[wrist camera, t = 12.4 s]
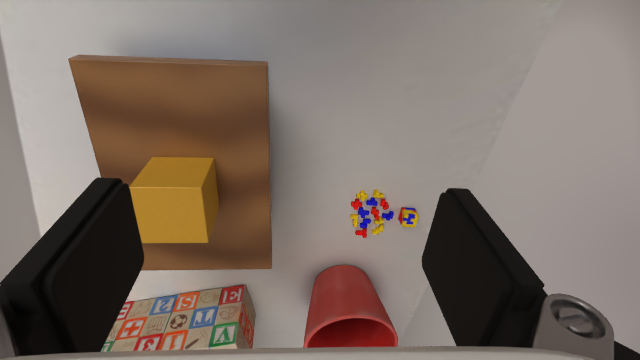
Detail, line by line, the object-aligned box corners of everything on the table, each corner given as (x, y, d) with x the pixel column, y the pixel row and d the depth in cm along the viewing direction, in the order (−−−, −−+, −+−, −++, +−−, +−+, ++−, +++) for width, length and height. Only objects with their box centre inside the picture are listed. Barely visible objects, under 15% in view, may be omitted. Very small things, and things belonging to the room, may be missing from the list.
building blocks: (354, 187, 42) (356, 195, 41) (419, 193, 43) (423, 201, 42) (344, 232, 46) (346, 240, 44) (405, 236, 46) (409, 244, 45)
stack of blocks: (245, 282, 48) (232, 369, 38) (256, 313, 52) (247, 402, 41) (89, 307, 49) (32, 400, 38) (109, 337, 52) (61, 431, 41)
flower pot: (361, 318, 54) (374, 382, 45) (291, 303, 51) (291, 368, 43) (393, 266, 49) (415, 327, 40) (318, 247, 46) (323, 307, 38)
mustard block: (152, 156, 30) (128, 187, 25) (214, 157, 30) (201, 187, 26) (162, 207, 32) (141, 243, 28) (219, 207, 32) (208, 243, 28)
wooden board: (78, 54, 27) (67, 58, 26) (268, 61, 28) (267, 65, 27) (132, 260, 37) (126, 270, 35) (272, 259, 38) (271, 269, 36)
